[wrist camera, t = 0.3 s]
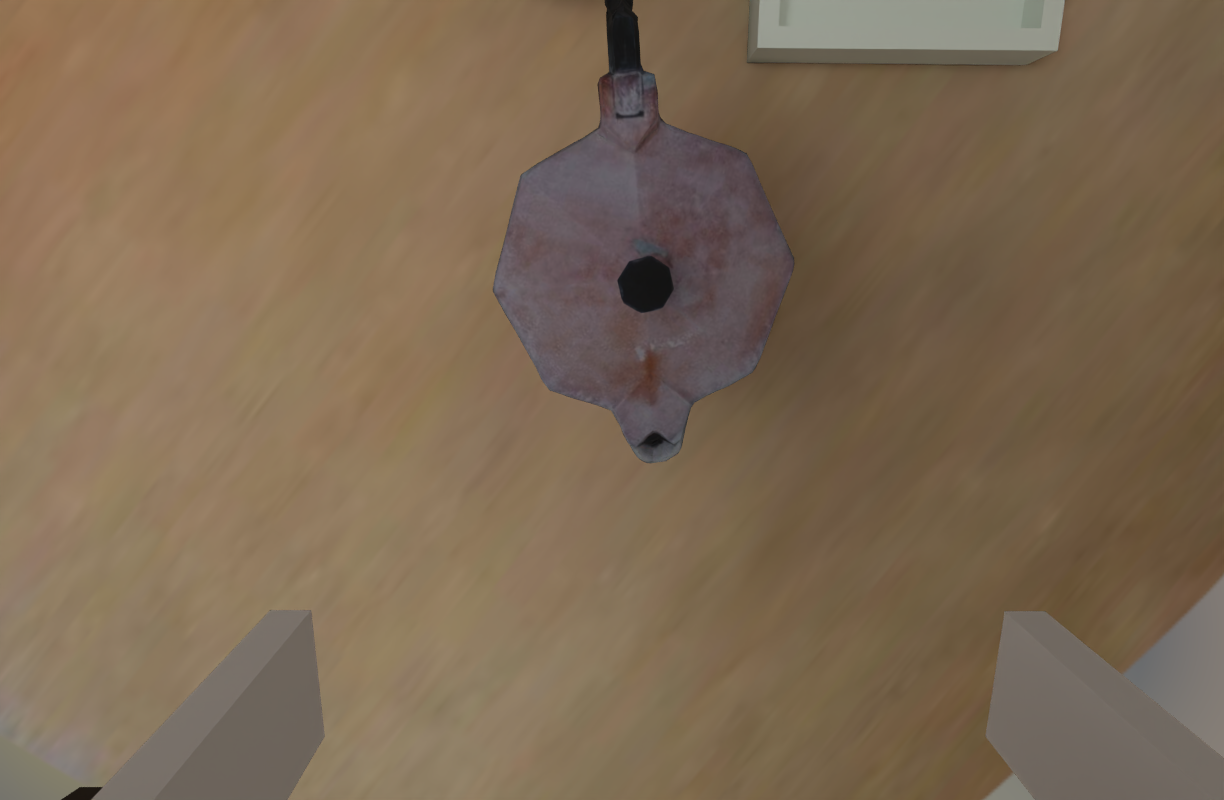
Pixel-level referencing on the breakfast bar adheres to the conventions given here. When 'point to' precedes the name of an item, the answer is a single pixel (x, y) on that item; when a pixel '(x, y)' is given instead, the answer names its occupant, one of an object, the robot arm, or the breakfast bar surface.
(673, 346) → the moka pot
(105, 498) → the breakfast bar surface
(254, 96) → the breakfast bar surface
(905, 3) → the tray
